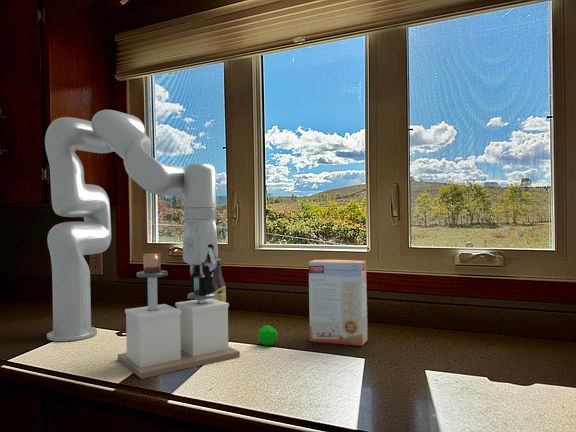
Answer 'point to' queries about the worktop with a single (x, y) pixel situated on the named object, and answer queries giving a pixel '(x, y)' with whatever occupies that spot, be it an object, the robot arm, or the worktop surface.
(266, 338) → the polyhedron
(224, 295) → the sauce bottle
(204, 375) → the worktop surface
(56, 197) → the robot arm
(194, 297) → the plunger
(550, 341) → the worktop surface
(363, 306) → the cracker box
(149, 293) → the plunger
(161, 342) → the press stand
